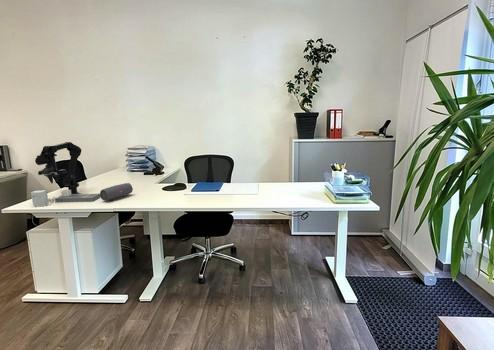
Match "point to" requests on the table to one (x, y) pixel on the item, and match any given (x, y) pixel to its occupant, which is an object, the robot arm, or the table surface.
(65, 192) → the fader tab
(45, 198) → the small box
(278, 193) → the table surface
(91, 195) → the console
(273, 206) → the table surface
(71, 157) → the robot arm
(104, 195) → the bluetooth speaker
